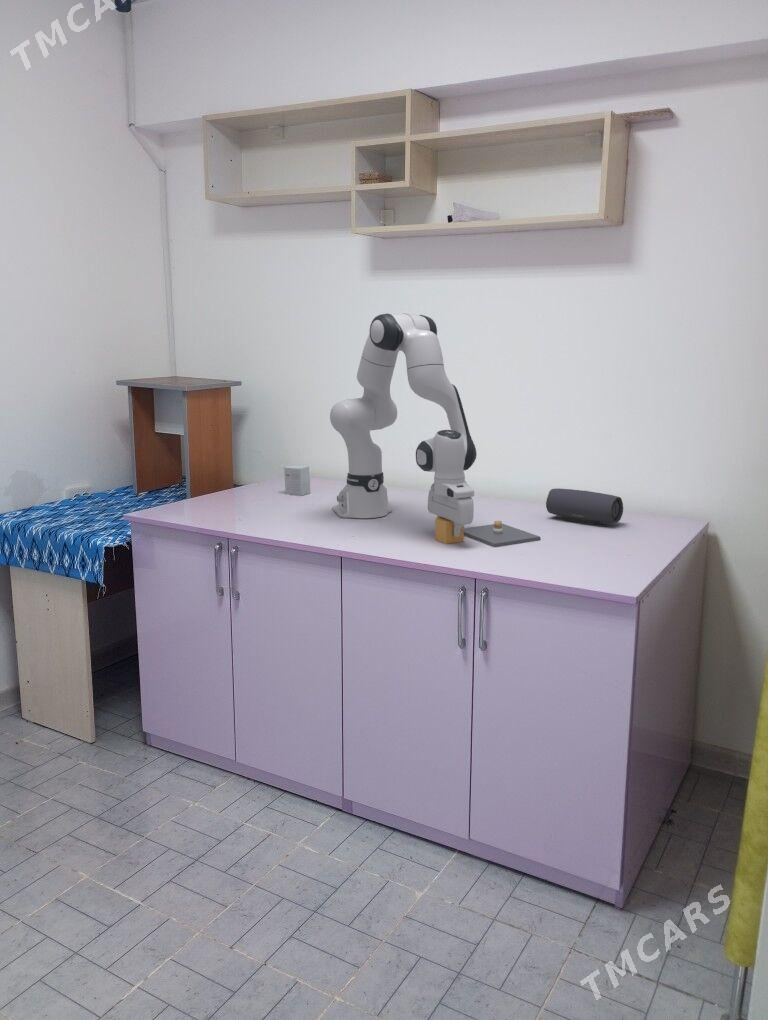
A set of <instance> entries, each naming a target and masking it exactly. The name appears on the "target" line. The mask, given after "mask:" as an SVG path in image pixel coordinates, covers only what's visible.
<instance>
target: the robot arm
mask: <svg viewBox="0 0 768 1020" xmlns="http://www.w3.org/2000/svg"><path fill="white" fill-rule="evenodd" d="M436 324H437V323H436V322H435V320H434V319H432V317H430V316H426V315H423V314H419V315H418V314H414V313H405V312H404V313H383V314H378V315H377V316H375V317H374V318H373V319H372V321H371V323H370V326H369V334H368V336H367V339H366V341H365V344H364V346H363V349H362V353H361V357H360V361H359V364H358V369H357V372H356V380H357V382H358V383H359V385H360V386H361V387H362V388H363V394H362V396H361V397H360V398H359V397H358V398H347V399H345V400H342V401H339V402H335V403H334V405H333V406H332V408H331V409H330V412H329V420H330V424H331V426H332V427H333V429H334V430H335V431H336V432H337V433H338V434H340V436H341V437H342V438H343V442H344V443H345V446H346V450H347V459H348V460H347V461H348V473H346V484H345V486H344V487H343V488H342V489H340V492H339V493H338V494H337V495H336V503H338V504H335V505H332V510H333V512H334V513H335V514H337V515H338V516H339V517H340V518H352V519H353V518H354V519H377V518H381V517H385V516H387V515H388V514H389V513H391V512H392V511H393V509H392V507H389V498H388V490H387V487H386V486H385V485H384V481H385V479H384V477H385V476H384V472H383V464H382V463H383V455H382V454H383V451H382V449H381V447H380V446H379V445H378V444H376V443H374V442H373V439H372V436H371V432H372V431H377V430H382V429H383V430H384V429H385V428H387V427H390V426H393V425H394V424H395V422H396V421H397V418H398V408H397V404H396V403H395V401H394V400H393V399H392V397H391V382H392V379H393V376H394V375H393V374H394V371H395V368H396V367H395V366H396V363H397V358H398V355H399V352H400V351H401V352H402V353H403V355H404V356H405V365H406V373H407V374H406V375H407V376H406V377H407V381H408V385H409V388H410V389H411V390H412V391H413V393H414V394H415V395H416V396H418V397H420V398H422V399H424V400H427V401H430V402H433V403H434V404H437V405H439V406H440V407H442V409H444V411H445V413H446V416H447V420H448V424H449V428H450V429H441V430H439V431H437V432H436V433H435V435H434V436H433V437H431V438H428V439H426V440H421V442H420V443H419V444H418V445H417V446H416V450H415V462H416V465H417V466H418V467H419V469H421V470H422V471H424V472H428V473H431V472H432V473H434V475H433V478H434V479H433V483H432V484H431V485H430V489H429V491H428V495H427V510H428V513H430V514H431V515H432V514H433V515H435V516H436V518H439V517H443V518H445V519H448V520H451V521H453V522H454V525H455V527H454V530H452V535H453V536H455V537H458V536H460V530H461V527H462V525H470V524H472V523H473V521H474V508H475V507H474V499H473V497H474V496H475V489H474V488H473V487H471V485H470V484H469V483H468V482H467V481H466V480H465V479H466V476H465V471H467V470H469V469H470V468H471V467H472V466H473V465H474V464H475V461H476V459H477V448H476V445H475V443H474V440H473V438H472V436H471V433H470V429H469V425H468V421H467V418H466V415H465V411H464V408H463V403H462V399H461V397H460V393H459V390H458V388H457V387H456V386H455V385H454V384H452V383H451V381H450V380H449V378H448V376H447V373H446V370H445V365H444V358H443V352H442V347H441V344H440V341H439V338H438V327H437V325H436Z"/></svg>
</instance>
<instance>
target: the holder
mask: <svg viewBox="0 0 768 1020" xmlns="http://www.w3.org/2000/svg"><path fill="white" fill-rule="evenodd" d="M465 536H466V537H468V538H470V539H473V540H476V541H478V542H480V543H483V544H486V545H487V546H490V547H493V548H498V547H504V546H510V545H517V544H523V543H529V542H530V543H531V542H536V541H541V536H540V535H538V534H534V533H531V532H528V531H525V530H522V529H519V528H516V527H514V526H510V525H507V524H505V523H503V521H501V520H494V523H493V524H492V523H491V524H484V525H479V526H473V527H472V526H471V527H465V528H464V537H465Z"/></svg>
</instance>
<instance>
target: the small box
mask: <svg viewBox="0 0 768 1020" xmlns="http://www.w3.org/2000/svg"><path fill="white" fill-rule="evenodd" d="M283 470H284V471H283V472H284V488H285V489H284V490H285V491H284V492H285V494H286V495H291V496H292V495H293V496H305V495H309V494H311V476H310V466H307V465H306V466H305V465H297V464H296V465H295V464H292V465H287V466H285V467H284V468H283Z"/></svg>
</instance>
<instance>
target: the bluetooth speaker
mask: <svg viewBox="0 0 768 1020" xmlns="http://www.w3.org/2000/svg"><path fill="white" fill-rule="evenodd" d="M545 506H546V507H545V509H546V511H547V512H548V513H549V514H551V515H555V516H560V517H564V518H567V521H570V522H575V523H582V524H589V525H599V524H600V523H605V524H616V523H618V522H619V521H621V519H622V518H623V514H624V503H623V499H622V498H621V497H620V496H617V495H613V494H607V493H603V492H602V493H601V492H597V491H596V492H595V491H590V490H581V489H570V488H551V489H550V490H549V491H548V494H547V498H546V501H545Z"/></svg>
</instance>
